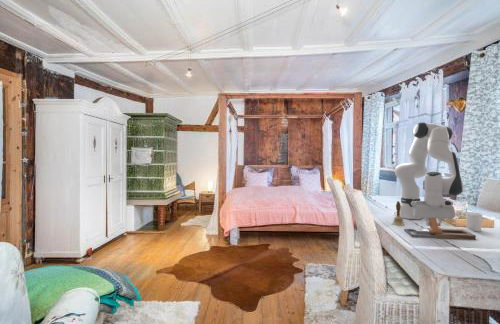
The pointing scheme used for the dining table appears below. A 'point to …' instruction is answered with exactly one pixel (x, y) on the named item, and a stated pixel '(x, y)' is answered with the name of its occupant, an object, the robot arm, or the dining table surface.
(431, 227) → the stepped wedge block
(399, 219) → the hand bell
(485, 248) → the dining table surface
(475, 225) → the white cup
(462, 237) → the slot board
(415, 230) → the grey square block
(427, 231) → the light grey block
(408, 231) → the tray
